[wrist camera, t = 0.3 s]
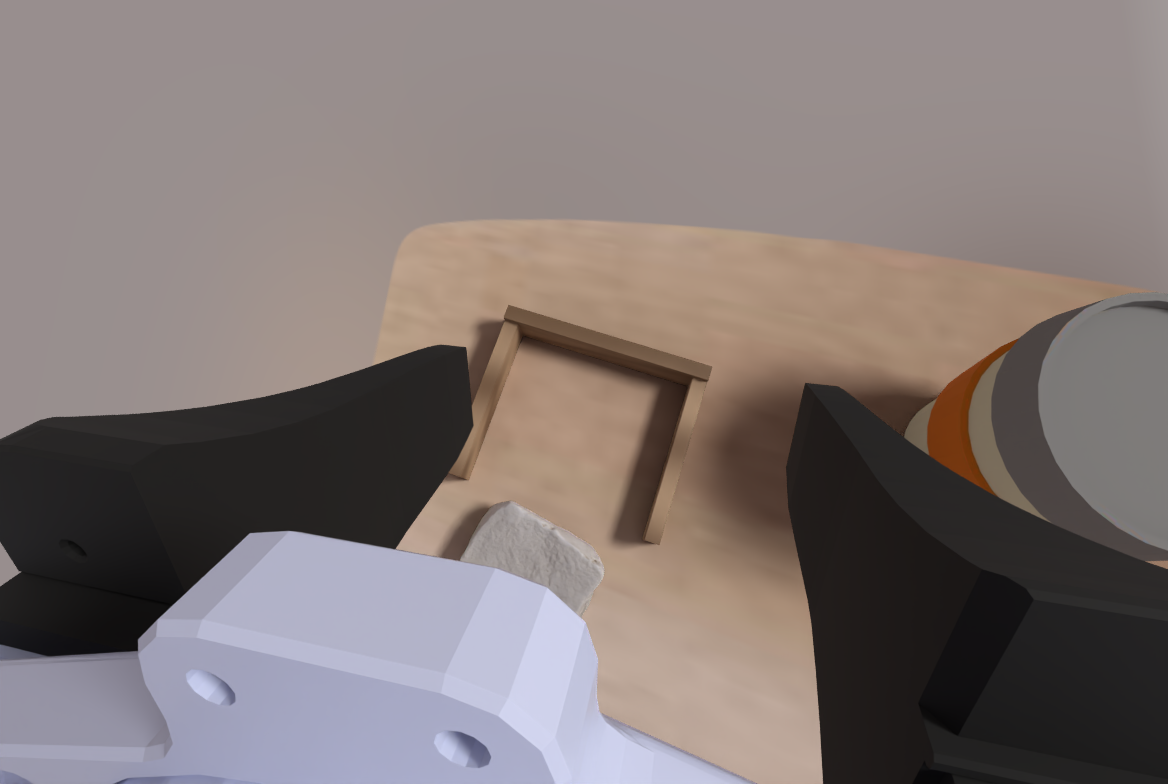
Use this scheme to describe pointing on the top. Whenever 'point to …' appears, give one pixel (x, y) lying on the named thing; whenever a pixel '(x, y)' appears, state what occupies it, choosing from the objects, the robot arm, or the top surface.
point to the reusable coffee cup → (1069, 423)
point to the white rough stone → (536, 553)
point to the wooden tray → (600, 348)
